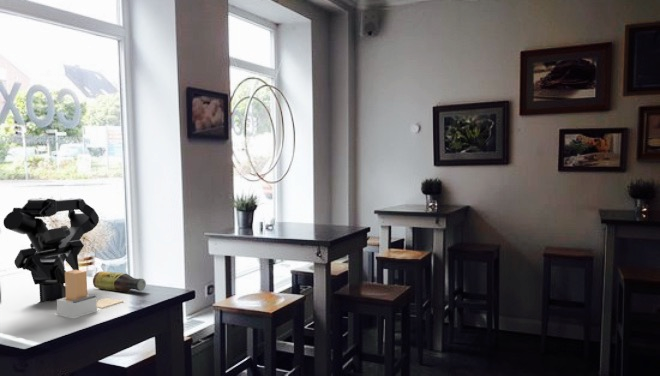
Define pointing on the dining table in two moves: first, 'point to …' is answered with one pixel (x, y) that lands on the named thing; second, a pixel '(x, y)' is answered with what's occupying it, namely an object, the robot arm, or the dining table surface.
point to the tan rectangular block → (75, 284)
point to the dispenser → (83, 306)
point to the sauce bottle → (117, 281)
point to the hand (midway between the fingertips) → (63, 274)
